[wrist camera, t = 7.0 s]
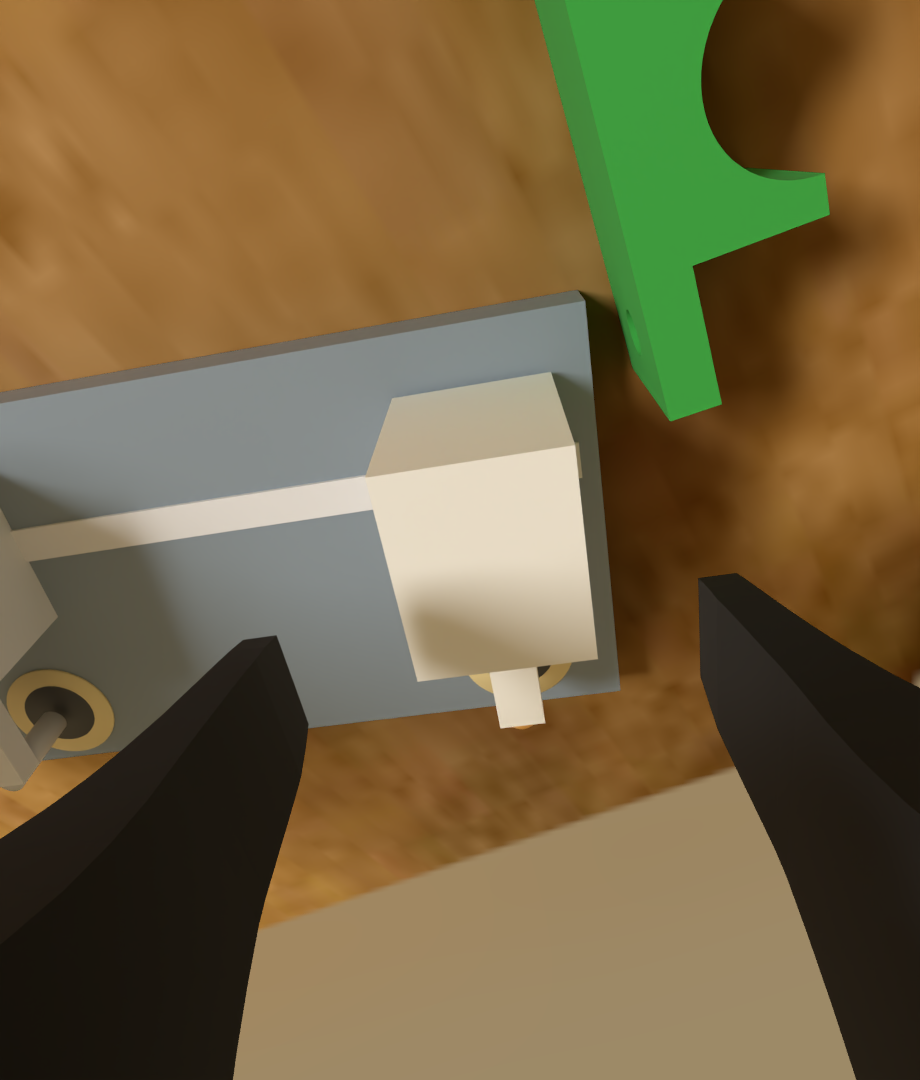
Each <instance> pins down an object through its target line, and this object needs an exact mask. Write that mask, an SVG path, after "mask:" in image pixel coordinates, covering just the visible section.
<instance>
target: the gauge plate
mask: <svg viewBox="0 0 920 1080" xmlns="http://www.w3.org/2000/svg"><path fill="white" fill-rule="evenodd" d="M547 372H551V374H552V377H553V380H554V383H555V386H556V389H557V392H558V395H559V398H560V401H561V404H562V407H563V410H564V413H565V416H566V419H567V422H568V425H569V428H570V431H571V434H572V437H573V440H574V443H575V449H576V458H577V467H578V477H579V486H580V496H581V505H582V514H583V524H584V533H585V542H586V552H587V561H588V571H589V580H590V589H591V599H592V608H593V617H594V627H595V636H596V646H597V655H598V659H595V660H587V661H579V662H571V663H563V664H555V665H547V666H539V667H537V670H538V676H539V682H540V689H541V695H542V700H547V699H555V698H563V697H572V696H580V695H588V694H597V693H605V692H613V691H620V680H619V669H618V658H617V647H616V636H615V625H614V614H613V603H612V592H611V581H610V570H609V559H608V548H607V537H606V526H605V515H604V504H603V493H602V482H601V471H600V459H599V448H598V437H597V426H596V415H595V404H594V393H593V382H592V371H591V360H590V349H589V338H588V327H587V316H586V305H585V300H584V298H583V297H582V296H581V294H580V293H579V292H578V290H574V291H569V292H563V293H557V294H552V295H546V296H540V297H535V298H529V299H524V300H518V301H512V302H507V303H501V304H495V305H490V306H484V307H479V308H473V309H467V310H462V311H456V312H450V313H445V314H439V315H434V316H428V317H422V318H417V319H411V320H405V321H400V322H394V323H389V324H383V325H377V326H372V327H366V328H360V329H355V330H349V331H343V332H338V333H332V334H327V335H321V336H315V337H310V338H304V339H298V340H293V341H287V342H282V343H276V344H270V345H265V346H259V347H253V348H248V349H242V350H237V351H231V352H225V353H220V354H214V355H208V356H203V357H197V358H192V359H186V360H180V361H175V362H169V363H163V364H158V365H152V366H147V367H141V368H135V369H130V370H124V371H118V372H113V373H107V374H101V375H96V376H90V377H85V378H79V379H73V380H68V381H62V382H56V383H51V384H45V385H40V386H34V387H28V388H23V389H17V390H11V391H6V392H0V787H2V788H4V789H6V790H9V791H18V790H20V789H22V788H23V786H24V785H25V783H26V782H27V781H28V779H29V778H30V776H31V775H32V774H33V772H34V771H35V769H36V768H37V767H38V765H39V764H40V762H41V761H42V760H50V759H59V758H67V757H75V756H84V755H92V754H100V753H108V752H117V751H121V750H122V749H124V748H125V747H126V746H127V745H128V744H129V743H130V742H132V741H133V740H134V739H135V738H136V737H137V736H139V735H140V734H141V733H142V732H143V731H144V730H145V729H147V728H148V727H149V726H150V725H151V724H152V723H153V722H155V721H156V720H157V719H158V718H159V717H160V716H161V715H162V714H163V713H165V712H166V711H167V710H168V709H169V708H170V707H171V706H172V705H173V704H174V703H175V702H176V701H177V700H178V699H179V698H180V697H182V696H183V695H184V694H185V693H186V692H187V691H188V690H189V689H190V688H191V687H192V686H193V685H194V684H195V683H196V682H197V681H198V680H199V679H201V678H202V677H203V676H204V675H205V674H206V673H207V672H208V671H209V670H210V669H211V668H212V667H213V666H214V665H215V664H216V663H217V662H218V661H219V660H221V659H222V658H223V657H224V656H225V655H226V654H227V653H228V652H229V651H230V650H232V649H233V648H234V647H235V646H236V645H237V644H239V643H240V642H241V641H242V640H245V639H252V638H260V637H267V636H275V635H277V638H278V641H279V643H280V646H281V649H282V652H283V654H284V657H285V660H286V663H287V665H288V668H289V671H290V674H291V676H292V679H293V682H294V685H295V687H296V690H297V693H298V696H299V699H300V701H301V704H302V707H303V710H304V712H305V715H306V718H307V721H308V723H309V725H308V728H315V727H323V726H332V725H340V724H348V723H357V722H365V721H373V720H381V719H390V718H398V717H406V716H415V715H423V714H431V713H439V712H448V711H456V710H464V709H472V708H481V707H489V706H496V703H495V698H494V693H493V688H492V683H491V678H490V673H484V674H476V675H468V676H460V677H452V678H444V679H436V680H428V681H420V682H418V681H417V678H416V674H415V670H414V666H413V662H412V658H411V654H410V651H409V647H408V643H407V639H406V635H405V631H404V627H403V624H402V620H401V616H400V612H399V608H398V604H397V600H396V597H395V593H394V589H393V585H392V581H391V577H390V573H389V569H388V566H387V562H386V558H385V554H384V550H383V546H382V542H381V539H380V535H379V531H378V527H377V523H376V519H375V515H374V512H373V508H372V504H371V500H370V496H369V492H368V488H367V485H366V481H365V476H366V473H367V470H368V467H369V464H370V461H371V458H372V455H373V453H374V450H375V447H376V444H377V441H378V438H379V435H380V432H381V429H382V426H383V423H384V420H385V418H386V415H387V412H388V409H389V406H390V403H391V400H392V398H397V397H403V396H409V395H415V394H421V393H427V392H433V391H439V390H445V389H451V388H457V387H463V386H469V385H475V384H481V383H487V382H493V381H499V380H505V379H511V378H517V377H523V376H529V375H535V374H541V373H547Z"/></svg>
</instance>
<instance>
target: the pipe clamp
mask: <svg viewBox="0 0 920 1080" xmlns="http://www.w3.org/2000/svg"><path fill="white" fill-rule="evenodd" d="M722 1H723V0H535V4H536V8H537V11H538V15H539V19H540V23H541V26H542V30H543V34H544V38H545V41H546V45H547V49H548V53H549V56H550V60H551V64H552V68H553V71H554V75H555V79H556V83H557V86H558V90H559V94H560V98H561V101H562V105H563V109H564V113H565V116H566V120H567V124H568V128H569V131H570V135H571V139H572V143H573V146H574V150H575V154H576V158H577V161H578V165H579V169H580V173H581V176H582V180H583V184H584V188H585V191H586V195H587V199H588V203H589V206H590V210H591V214H592V218H593V221H594V225H595V229H596V233H597V236H598V240H599V244H600V248H601V251H602V255H603V259H604V263H605V266H606V270H607V274H608V278H609V281H610V285H611V289H612V293H613V296H614V300H615V304H616V308H617V311H618V315H619V319H620V323H621V326H622V330H623V334H624V338H625V341H626V345H627V349H628V353H629V356H630V360H631V364H632V368H633V369H634V371H635V372H636V374H637V375H638V376H639V378H640V379H641V381H642V382H643V384H644V385H645V386H646V388H647V389H648V391H649V392H650V394H651V395H652V396H653V398H654V399H655V401H656V402H657V403H658V405H659V406H660V408H661V409H662V411H663V412H664V413H665V415H666V416H667V418H668V419H669V421H673V420H676V419H679V418H682V417H685V416H688V415H691V414H694V413H697V412H700V411H703V410H706V409H709V408H712V407H715V406H718V405H721V404H722V402H721V398H720V393H719V388H718V384H717V379H716V374H715V369H714V365H713V360H712V355H711V351H710V346H709V341H708V337H707V332H706V327H705V322H704V318H703V313H702V308H701V304H700V299H699V294H698V290H697V285H696V280H695V275H694V271H693V266H694V265H696V264H699V263H702V262H704V261H707V260H710V259H712V258H715V257H718V256H720V255H723V254H726V253H728V252H731V251H734V250H737V249H739V248H742V247H745V246H747V245H750V244H753V243H755V242H758V241H761V240H763V239H766V238H769V237H771V236H774V235H777V234H779V233H782V232H785V231H787V230H790V229H793V228H795V227H798V226H801V225H803V224H806V223H809V222H811V221H814V220H817V219H820V218H822V217H825V216H828V215H830V212H829V204H828V196H827V188H826V180H825V173H814V172H800V171H786V170H772V169H757V168H745V169H744V168H743V167H741V166H740V165H738V164H737V163H736V162H735V161H733V160H732V159H731V158H730V157H729V156H728V155H727V154H726V153H725V152H724V150H723V149H722V148H721V146H720V145H719V144H718V142H717V140H716V138H715V137H714V135H713V133H712V131H711V128H710V126H709V124H708V121H707V118H706V114H705V111H704V106H703V100H702V91H701V69H702V60H703V54H704V49H705V44H706V40H707V37H708V33H709V30H710V27H711V25H712V22H713V19H714V17H715V15H716V13H717V11H718V8H719V6H720V4H721V2H722Z"/></svg>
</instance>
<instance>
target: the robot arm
mask: <svg viewBox="0 0 920 1080" xmlns="http://www.w3.org/2000/svg"><path fill="white" fill-rule="evenodd" d="M698 583H699V628H700V672H701V679H702V682H703V685H704V689H705V692H706V695H707V698H708V701H709V704H710V707H711V710H712V713H713V716H714V719H715V722H716V725H717V728H718V731H719V733H720V735H721V737H722V739H723V741H724V744H725V746H726V748H727V750H728V752H729V754H730V756H731V758H732V761H733V763H734V765H735V767H736V769H737V771H738V773H739V775H740V777H741V779H742V781H743V784H744V786H745V788H746V790H747V792H748V794H749V796H750V798H751V800H752V802H753V804H754V806H755V809H756V811H757V813H758V815H759V817H760V819H761V821H762V823H763V825H764V827H765V829H766V832H767V834H768V836H769V838H770V840H771V842H772V844H773V846H774V848H775V850H776V853H777V855H778V857H779V860H780V862H781V865H782V867H783V869H784V872H785V874H786V876H787V879H788V881H789V884H790V887H791V890H792V893H793V896H794V898H795V901H796V904H797V906H798V909H799V912H800V915H801V918H802V920H803V923H804V926H805V929H806V932H807V934H808V937H809V940H810V943H811V946H812V949H813V951H814V954H815V957H816V960H817V963H818V966H819V969H820V972H821V974H822V977H823V981H824V983H825V986H826V989H827V992H828V995H829V998H830V1001H831V1003H832V1007H833V1010H834V1013H835V1016H836V1019H837V1022H838V1025H839V1028H840V1031H841V1034H842V1037H843V1040H844V1043H845V1046H846V1049H847V1053H848V1056H849V1059H850V1062H851V1064H852V1068H853V1071H854V1074H855V1077H856V1080H920V688H919V687H917V686H915V685H913V684H911V683H909V682H907V681H905V680H903V679H901V678H899V677H897V676H895V675H893V674H892V673H890V672H888V671H886V670H884V669H883V668H881V667H879V666H877V665H876V664H874V663H872V662H870V661H869V660H867V659H865V658H864V657H862V656H860V655H858V654H857V653H855V652H853V651H851V650H850V649H848V648H847V647H845V646H843V645H842V644H840V643H838V642H837V641H835V640H834V639H832V638H830V637H829V636H827V635H826V634H824V633H823V632H821V631H820V630H818V629H817V628H815V627H813V626H812V625H810V624H809V623H807V622H806V621H804V620H803V619H802V618H800V617H799V616H797V615H796V614H794V613H793V612H791V611H790V610H788V609H787V608H786V607H784V606H783V605H781V604H780V603H778V602H777V601H776V600H774V599H773V598H771V597H770V596H769V595H767V594H766V593H764V592H763V591H762V590H760V589H759V588H757V587H756V586H755V585H753V584H752V583H750V582H749V581H747V580H746V579H745V578H743V577H742V576H740V575H739V574H737V573H734V574H726V575H719V576H712V577H704V578H698ZM308 725H309V723H308V721H307V718H306V715H305V712H304V710H303V707H302V704H301V701H300V699H299V696H298V693H297V690H296V687H295V685H294V682H293V679H292V676H291V674H290V671H289V668H288V665H287V663H286V660H285V657H284V654H283V652H282V649H281V646H280V643H279V641H278V638H277V635H275V636H267V637H260V638H252V639H245V640H242V641H241V642H240V643H239V644H237V645H236V646H235V647H234V648H233V649H232V650H230V651H229V652H228V653H227V654H226V655H225V656H224V657H223V658H222V659H221V660H219V661H218V662H217V663H216V664H215V665H214V666H213V667H212V668H211V669H210V670H209V671H208V672H207V673H206V674H205V675H204V676H203V677H202V678H201V679H199V680H198V681H197V682H196V683H195V684H194V685H193V686H192V687H191V688H190V689H189V690H188V691H187V692H186V693H185V694H184V695H183V696H182V697H180V698H179V699H178V700H177V701H176V702H175V703H174V704H173V705H172V706H171V707H170V708H169V709H168V710H167V711H166V712H165V713H163V714H162V715H161V716H160V717H159V718H158V719H157V720H156V721H155V722H153V723H152V724H151V725H150V726H149V727H148V728H147V729H145V730H144V731H143V732H142V733H141V734H140V735H139V736H137V737H136V738H135V739H134V740H133V741H132V742H130V743H129V744H128V745H127V746H126V747H125V748H124V749H122V750H121V751H120V752H119V753H118V754H117V755H116V756H114V757H113V758H112V759H111V760H110V761H108V762H107V763H106V764H105V765H103V766H102V767H101V768H100V769H98V770H97V771H96V772H95V773H93V774H92V775H91V776H90V777H88V778H87V779H86V780H84V781H83V782H82V783H80V784H79V785H78V786H76V787H75V788H74V789H72V790H71V791H70V792H68V793H67V794H66V795H64V796H63V797H62V798H60V799H59V800H58V801H56V802H55V803H53V804H52V805H51V806H49V807H48V808H46V809H45V810H44V811H42V812H41V813H39V814H37V815H36V816H34V817H33V818H31V819H30V820H28V821H27V822H25V823H24V824H22V825H21V826H19V827H18V828H16V829H15V830H13V831H12V832H10V833H9V834H7V835H6V836H4V837H3V838H1V839H0V1080H233V1074H234V1067H235V1059H236V1053H237V1046H238V1040H239V1034H240V1028H241V1022H242V1016H243V1010H244V1003H245V997H246V991H247V985H248V979H249V974H250V969H251V964H252V958H253V953H254V947H255V942H256V937H257V932H258V927H259V922H260V918H261V914H262V910H263V906H264V902H265V898H266V895H267V891H268V888H269V885H270V881H271V878H272V875H273V871H274V868H275V865H276V861H277V858H278V854H279V851H280V848H281V844H282V841H283V838H284V834H285V831H286V828H287V824H288V821H289V817H290V814H291V810H292V807H293V803H294V800H295V796H296V793H297V789H298V786H299V782H300V778H301V773H302V767H303V761H304V755H305V748H306V740H307V733H308Z"/></svg>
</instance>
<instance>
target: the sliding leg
mask: <svg viewBox="0 0 920 1080" xmlns="http://www.w3.org/2000/svg"><path fill="white" fill-rule="evenodd" d="M365 481H366V485H367V488H368V492H369V496H370V500H371V504H372V508H373V512H374V515H375V519H376V523H377V527H378V531H379V535H380V539H381V542H382V546H383V550H384V554H385V558H386V562H387V566H388V569H389V573H390V577H391V581H392V585H393V589H394V593H395V597H396V600H397V604H398V608H399V612H400V616H401V620H402V624H403V627H404V631H405V635H406V639H407V643H408V647H409V651H410V654H411V658H412V662H413V666H414V670H415V674H416V678H417V681H418V682H420V681H428V680H436V679H444V678H452V677H460V676H468V675H476V674H484V673H490V678H491V683H492V688H493V693H494V698H495V703H496V708H497V713H498V718H499V723H500V728H508V727H514V728H517V729H526V728H529V727H531V726H533V725H534V724H542V723H545V718H544V709H543V701H542V695H541V689H540V682H539V676H538V670H537V667H539V666H547V665H555V664H563V663H571V662H579V661H587V660H595V659H598V655H597V646H596V636H595V627H594V617H593V608H592V599H591V589H590V580H589V571H588V561H587V552H586V542H585V533H584V524H583V514H582V505H581V496H580V486H579V477H578V467H577V458H576V449H575V443H574V440H573V437H572V434H571V431H570V428H569V425H568V422H567V419H566V416H565V413H564V410H563V407H562V404H561V401H560V398H559V395H558V392H557V389H556V386H555V383H554V380H553V377H552V374H551V372H547V373H541V374H535V375H529V376H523V377H517V378H511V379H505V380H499V381H493V382H487V383H481V384H475V385H469V386H463V387H457V388H451V389H445V390H439V391H433V392H427V393H421V394H415V395H409V396H403V397H397V398H392V400H391V403H390V406H389V409H388V412H387V415H386V418H385V420H384V423H383V426H382V429H381V432H380V435H379V438H378V441H377V444H376V447H375V450H374V453H373V455H372V458H371V461H370V464H369V467H368V470H367V473H366V476H365Z"/></svg>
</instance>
